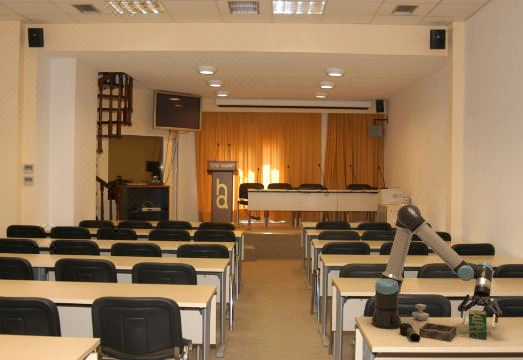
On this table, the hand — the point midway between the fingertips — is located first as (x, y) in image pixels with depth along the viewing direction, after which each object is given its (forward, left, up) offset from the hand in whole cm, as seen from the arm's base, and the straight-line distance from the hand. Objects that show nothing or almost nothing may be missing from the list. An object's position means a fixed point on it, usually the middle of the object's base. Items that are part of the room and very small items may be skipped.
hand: (477, 325), depth 240 cm
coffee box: (0, +1, -6) cm, 7 cm away
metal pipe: (-29, -16, -7) cm, 34 cm away
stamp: (-32, +20, -6) cm, 39 cm away
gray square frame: (-17, -6, -6) cm, 19 cm away
